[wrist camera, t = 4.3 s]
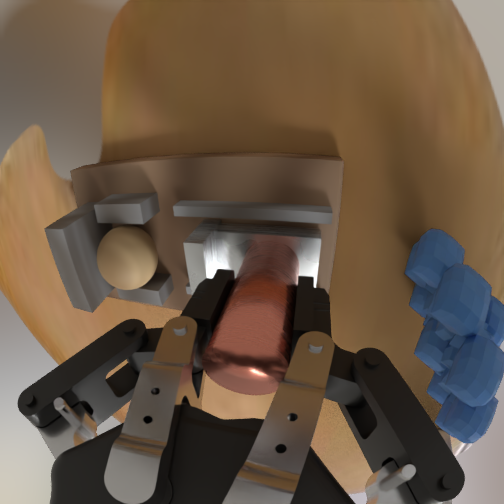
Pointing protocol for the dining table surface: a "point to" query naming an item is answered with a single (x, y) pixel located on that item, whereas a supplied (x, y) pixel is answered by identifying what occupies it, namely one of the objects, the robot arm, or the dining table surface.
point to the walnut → (127, 257)
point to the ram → (252, 298)
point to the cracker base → (189, 213)
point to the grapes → (457, 335)
